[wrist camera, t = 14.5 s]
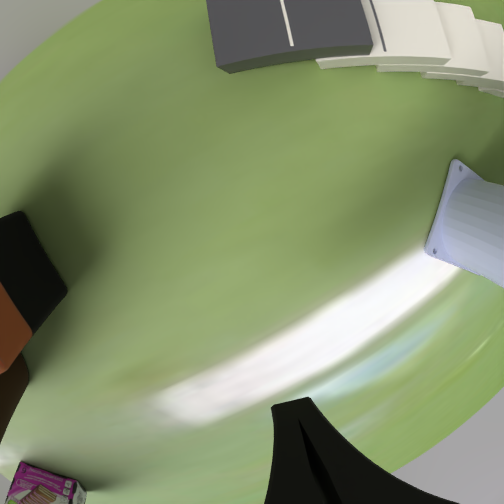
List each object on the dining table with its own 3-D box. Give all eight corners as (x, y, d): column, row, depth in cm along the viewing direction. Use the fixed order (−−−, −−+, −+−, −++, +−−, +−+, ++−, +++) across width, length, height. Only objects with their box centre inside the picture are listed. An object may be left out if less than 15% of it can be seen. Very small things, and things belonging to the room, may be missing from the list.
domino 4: (406, 20, 14) (492, 31, 11) (421, 78, 16) (506, 87, 13) (410, 11, 12) (501, 24, 9) (426, 72, 14) (517, 83, 11)
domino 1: (216, 66, 13) (373, 44, 10) (205, -5, 11) (349, -31, 9) (229, 73, 15) (369, 55, 12) (218, 7, 13) (349, -15, 11)
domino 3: (361, 11, 14) (462, 16, 11) (377, 71, 15) (479, 76, 12) (360, -1, 12) (470, 6, 9) (378, 65, 14) (490, 71, 11)
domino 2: (306, 5, 13) (423, 0, 10) (321, 69, 15) (443, 65, 12) (299, -8, 12) (428, -12, 9) (316, 61, 13) (451, 58, 10)
